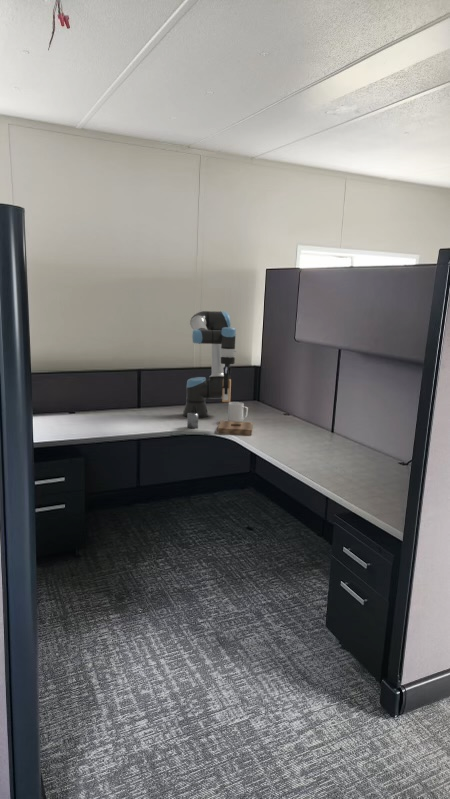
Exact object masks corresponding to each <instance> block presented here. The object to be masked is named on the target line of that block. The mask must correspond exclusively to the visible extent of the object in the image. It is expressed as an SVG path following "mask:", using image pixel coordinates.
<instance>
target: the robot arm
mask: <svg viewBox="0 0 450 799" xmlns="http://www.w3.org/2000/svg"><path fill="white" fill-rule="evenodd" d="M189 320H190V321H189V324H190V328H191V329H192V334H191V335H192V336H191V338H192V343H193V344H199V345H200V344H202V345H205V344H206V345H211V375H209V376H208V379H207V378H206V377H205V376H196V377H191V378H189V379H187V381H186V386H185V387H186V388H185V389H186V398H185V399H186V400H185V401H186V403H185V405H184V409H183V411H182V416H184V417H186V418H187V413H198V419H199V418H206V417H208V416H209V415H208V414H209V412H208V409H207V405H206V400H207V399H209V400H210V399H211V400H213V399H214V400H222V391H223V388H224V395H223V400H228V399H229V379H231V377H232V376H231V374H232V366H231V365H234V364H235V360H236V358H235V354H236V353H237V350H236V335H237V334H236V327H231V317H230V315H229V313H228V312H227V311H212V310H211V311H207V310H201V311H199V312H196V313H195V314H193V315H192V317H190V319H189ZM223 379H224V385H223Z"/></svg>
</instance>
